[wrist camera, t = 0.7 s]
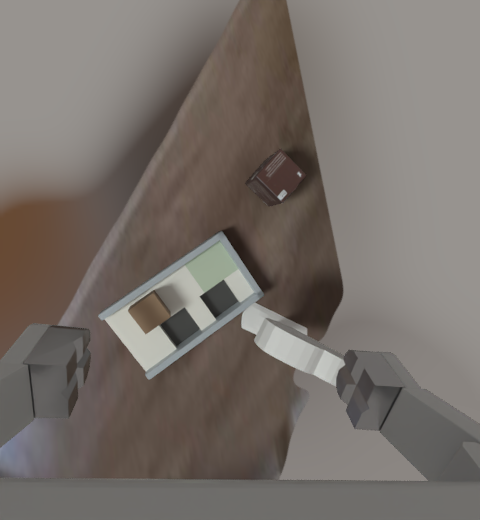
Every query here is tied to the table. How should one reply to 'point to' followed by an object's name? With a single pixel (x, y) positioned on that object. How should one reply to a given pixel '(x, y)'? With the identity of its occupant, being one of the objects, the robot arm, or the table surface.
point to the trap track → (186, 303)
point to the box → (276, 178)
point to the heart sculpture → (291, 343)
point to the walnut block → (149, 312)
